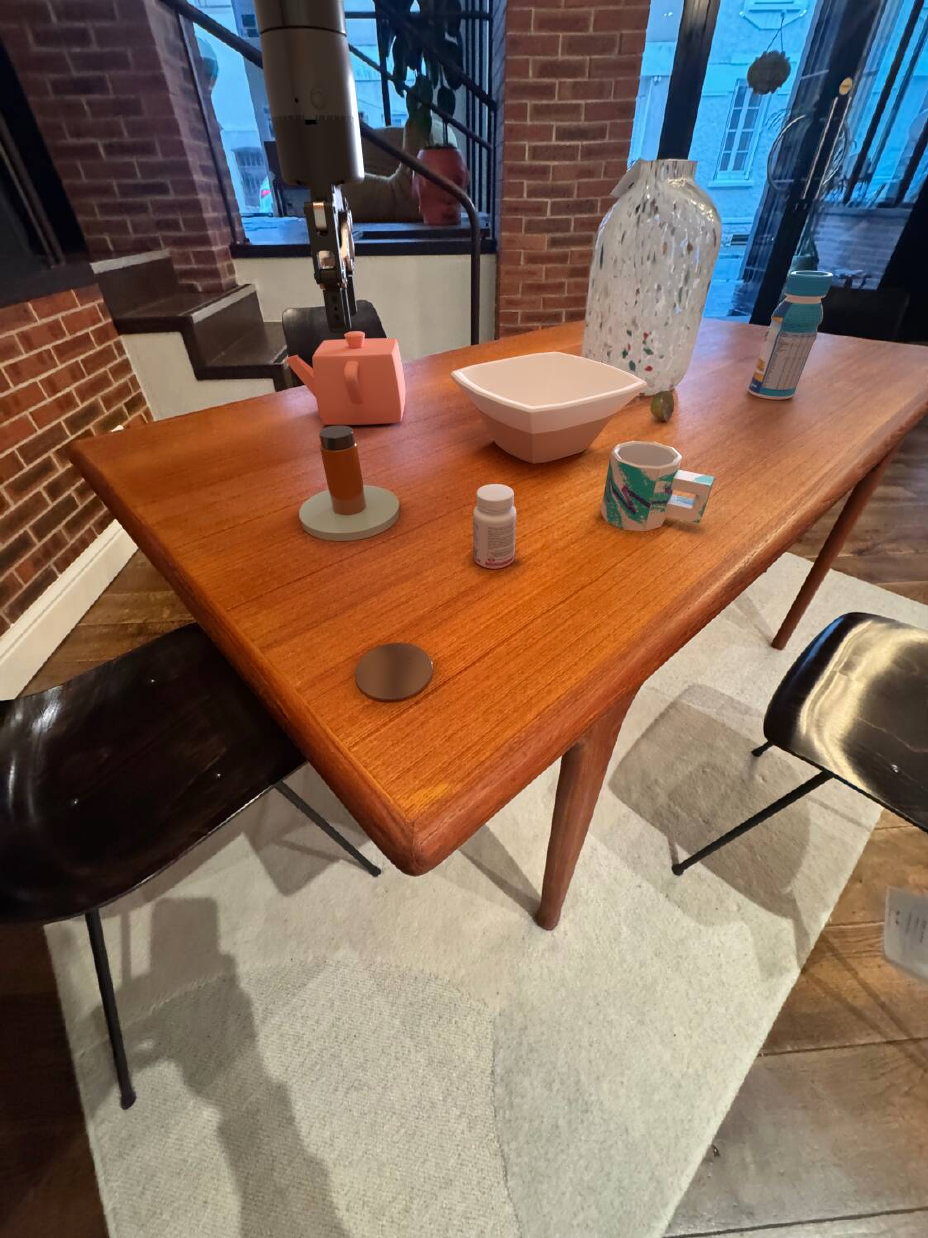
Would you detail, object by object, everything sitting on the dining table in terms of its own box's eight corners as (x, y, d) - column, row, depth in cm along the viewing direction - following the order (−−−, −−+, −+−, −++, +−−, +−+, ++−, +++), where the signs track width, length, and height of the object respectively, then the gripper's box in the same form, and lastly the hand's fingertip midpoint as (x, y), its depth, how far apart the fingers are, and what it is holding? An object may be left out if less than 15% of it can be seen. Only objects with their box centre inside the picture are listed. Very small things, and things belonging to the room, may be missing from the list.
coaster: (366, 712, 44) (365, 709, 44) (347, 658, 49) (346, 655, 48) (444, 687, 46) (443, 684, 45) (418, 637, 51) (418, 634, 50)
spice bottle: (336, 518, 66) (320, 441, 60) (329, 502, 69) (314, 428, 63) (370, 511, 68) (358, 434, 61) (361, 496, 71) (349, 422, 64)
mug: (613, 495, 72) (624, 435, 67) (704, 515, 67) (723, 453, 62) (593, 522, 67) (603, 459, 61) (690, 546, 62) (710, 480, 57)
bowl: (648, 452, 83) (663, 382, 76) (521, 491, 73) (525, 415, 66) (554, 409, 98) (559, 347, 91) (439, 437, 89) (436, 371, 82)
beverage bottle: (775, 403, 98) (820, 278, 85) (737, 391, 104) (774, 272, 91) (803, 395, 101) (850, 273, 88) (765, 384, 107) (804, 268, 94)
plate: (310, 550, 63) (308, 542, 62) (293, 503, 72) (291, 495, 71) (412, 527, 66) (412, 519, 66) (384, 485, 76) (383, 477, 75)
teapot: (408, 395, 106) (402, 317, 97) (402, 436, 90) (393, 347, 81) (311, 398, 106) (295, 320, 97) (286, 439, 89) (264, 351, 80)
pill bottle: (521, 554, 61) (525, 488, 56) (501, 574, 58) (504, 506, 53) (486, 543, 63) (487, 478, 58) (465, 562, 60) (464, 495, 55)
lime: (670, 414, 95) (677, 385, 92) (675, 424, 92) (683, 394, 88) (645, 414, 96) (651, 385, 92) (649, 423, 92) (656, 394, 89)
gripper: (285, 121, 51) (317, 311, 61) (253, 104, 40) (298, 339, 50) (363, 120, 51) (381, 310, 62) (351, 104, 40) (376, 337, 51)
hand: (344, 323), depth 56 cm, fingers open, 8 cm apart
